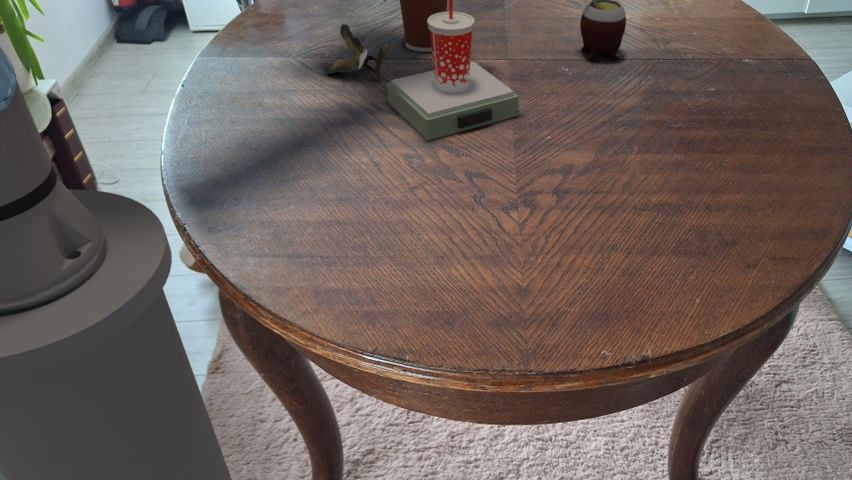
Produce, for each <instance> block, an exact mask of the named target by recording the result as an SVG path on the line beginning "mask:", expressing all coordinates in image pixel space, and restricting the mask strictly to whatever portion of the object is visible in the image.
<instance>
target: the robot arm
mask: <svg viewBox="0 0 852 480" xmlns="http://www.w3.org/2000/svg"><path fill="white" fill-rule="evenodd" d="M385 1H387V0H383V2H385ZM14 67H15V66H14V65H13V63H12V61H11V60H10V59H9V56H8V54H7V53H6V52H5V50H4V49H3V48H2V46H1V45H0V316H3V315H10V314H15V313H20V312H24V311H28V310H31V309H34V308H37V307H40V306H43V305H46V304H48V303H51V302H53V301H55V300H57V299H59V298H61V297H63V296H65V295H67V294H69V293H70V292H72V291H74V290H75V289H77V288H78V287H80V286H81V285H82V284H84V283H85V282H86V281H87V280H88V279H90V278H91V277H92V276H93V275H94V274H95V273H96V271H97V270H98V269H99V268H100V266H101V265H102V263H103V261H104V259H105V257H106V254H107V241H106V238H105V236H104V233H103V231H102V229H101V226H100V225H99V223H98V222H97V220H96V219H95V217H94V216H93V215H92V214H91V213H90V212H89V211H88V210H87V209H86V208H85V207H84V206H83V205H82V203H81V202H80V201H79V200H78V199H77V198H76V195H75V193H74V190H75V189H73V188H71V189H68V188H67V186H66V185H64V183H63V182H62V181H61V180H60V178H59V176H58V175H57V173H56V171H55V168H54V165H53V163H52V161H51V160H52V159H51V158H50V155H49V154H48V151H47V148H46V145H45V144H44V142H43V138H42V136H41V134H40V132H39V129H38V127H37V125H36V123H35V120H34V117H33V115H32V112H31V111H30V108H29V105H28V103H27V101H26V98H25V96H24V94H23V91H22V89H21V86H20V84H19V82H18V79H17V74H16V71H15V68H14Z"/></svg>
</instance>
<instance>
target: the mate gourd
mask: <svg viewBox="0 0 852 480" xmlns="http://www.w3.org/2000/svg"><path fill="white" fill-rule="evenodd" d="M626 17H627V16H626V11H625V8H624V7H623V5H622V4H621V3H620V2H618V1H616V0H590V1H589V2H588V3H587V4H586V5H585V7H584V8H583V10H582V13H581V17H580V23H579V26H580V27H579V28H580V29H579V30H580V36H581V39H582V46H581V52H582V53H586V54H590V56H589V58H588V62H591V63H593V62H595V61H596V60H598V59H599V58H605V59H608V60H612V61H617V60H618V58H619V56H618V55H617V54H618V52H619V49H620V47H621V44H622V41H623V37H624V34H625V31H626V26H627V18H626Z"/></svg>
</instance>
